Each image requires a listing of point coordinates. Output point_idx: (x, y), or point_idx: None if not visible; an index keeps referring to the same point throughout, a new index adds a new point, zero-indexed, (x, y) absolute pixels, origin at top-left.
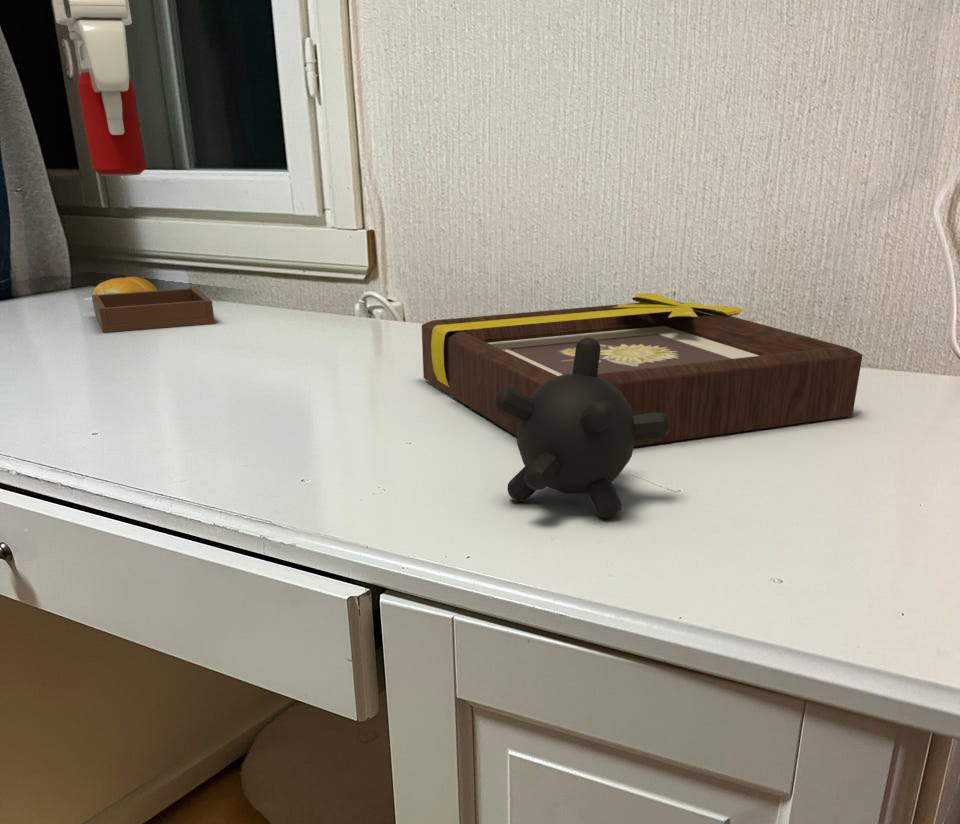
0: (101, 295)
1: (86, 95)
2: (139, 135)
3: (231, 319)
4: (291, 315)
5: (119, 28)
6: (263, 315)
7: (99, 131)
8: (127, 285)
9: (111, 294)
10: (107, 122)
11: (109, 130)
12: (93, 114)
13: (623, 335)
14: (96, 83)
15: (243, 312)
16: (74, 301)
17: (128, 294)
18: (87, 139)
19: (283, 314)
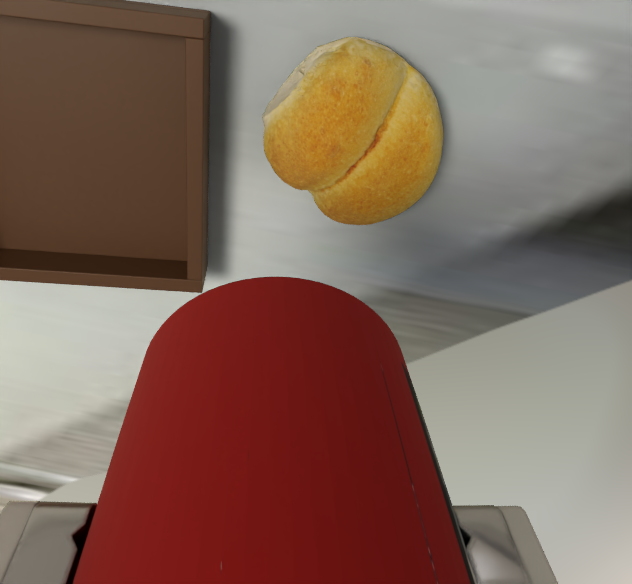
0: (185, 47)
1: None
2: None
3: (32, 291)
4: (41, 388)
5: None
6: (61, 350)
7: (118, 473)
8: (289, 149)
9: (185, 78)
10: (4, 563)
11: (1, 515)
12: (101, 571)
13: None
14: None
15: (118, 329)
16: (553, 10)
17: (186, 126)
18: (271, 378)
19: (59, 380)
